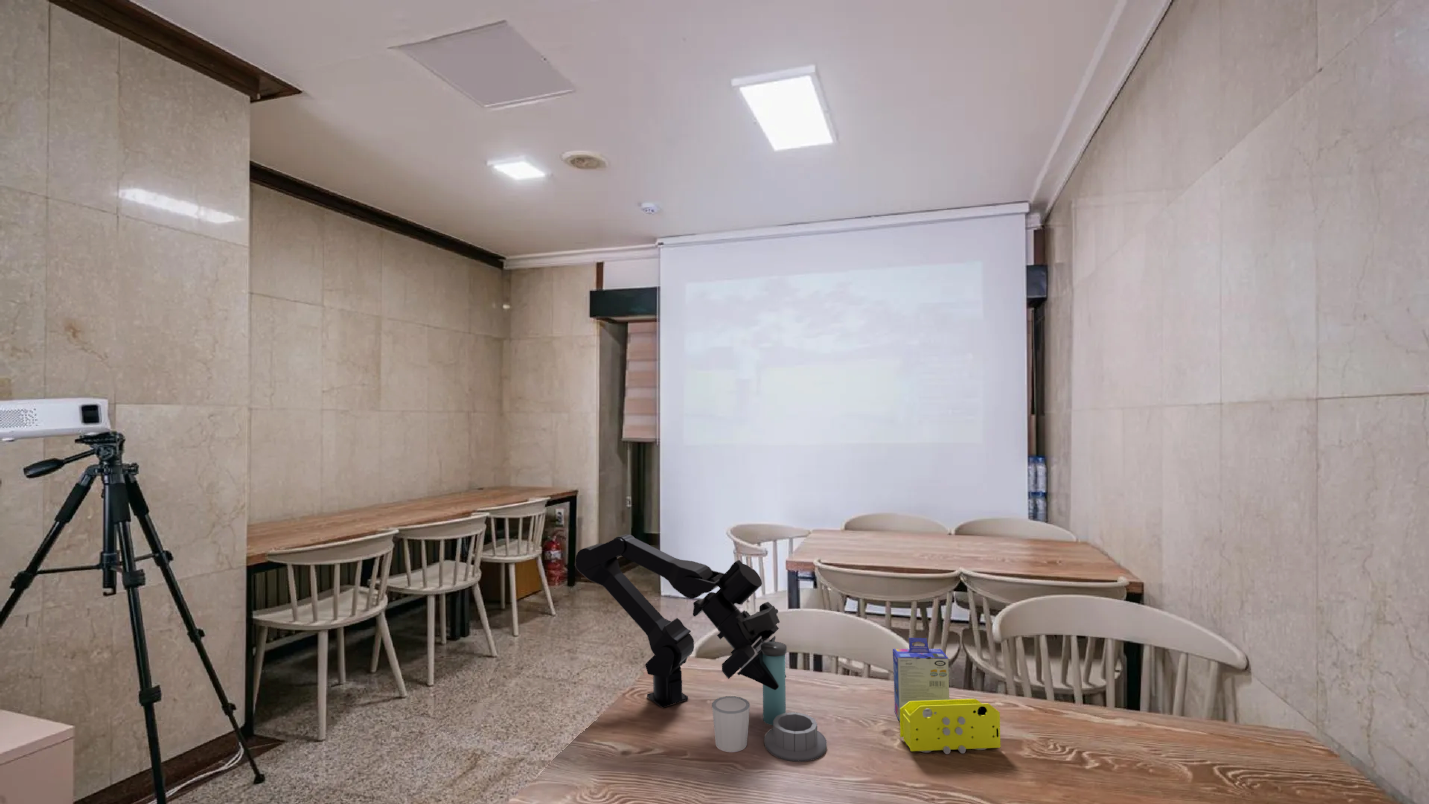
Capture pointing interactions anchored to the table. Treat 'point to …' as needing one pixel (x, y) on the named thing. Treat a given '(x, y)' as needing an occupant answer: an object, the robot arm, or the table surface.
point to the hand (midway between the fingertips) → (780, 683)
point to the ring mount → (795, 738)
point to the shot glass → (731, 723)
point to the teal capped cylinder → (776, 664)
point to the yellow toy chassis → (949, 725)
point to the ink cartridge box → (919, 674)
